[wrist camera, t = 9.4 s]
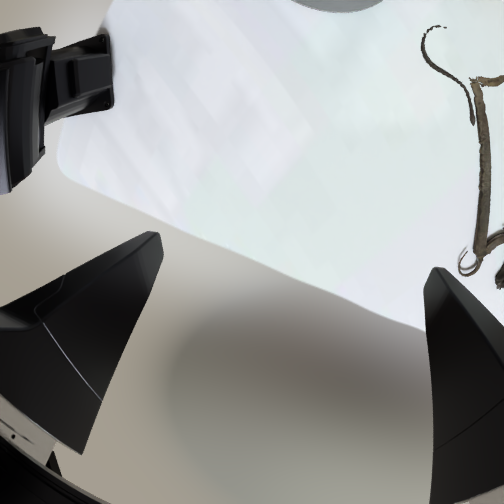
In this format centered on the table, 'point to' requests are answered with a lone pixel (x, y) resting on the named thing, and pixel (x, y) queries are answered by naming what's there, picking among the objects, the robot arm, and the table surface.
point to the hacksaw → (480, 241)
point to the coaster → (338, 5)
